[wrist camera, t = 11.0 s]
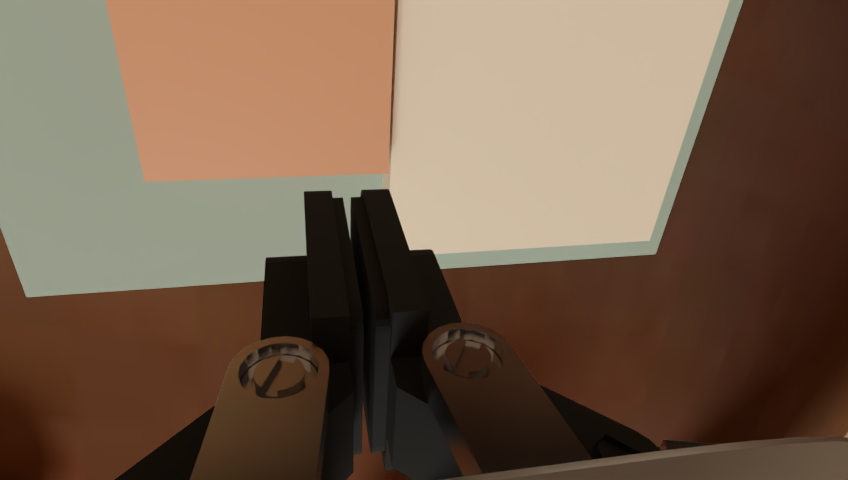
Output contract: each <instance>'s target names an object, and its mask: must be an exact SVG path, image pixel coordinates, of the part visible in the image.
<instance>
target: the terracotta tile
mask: <svg viewBox="0 0 848 480" xmlns="http://www.w3.org/2000/svg"><path fill="white" fill-rule="evenodd" d="M106 5H107V9H108V14H109V19H110V23H111V28H112V33H113V37H114V42H115V47H116V51H117V56H118V61H119V65H120V70H121V75H122V79H123V84H124V89H125V93H126V98H127V103H128V107H129V112H130V117H131V121H132V126H133V131H134V135H135V140H136V145H137V149H138V154H139V159H140V163H141V168H142V173H143V177H144V182H155V181H184V180H213V179H242V178H271V177H300V176H329V175H358V174H387V173H388V172H389V145H390V119H391V92H392V66H393V39H394V13H395V0H106Z"/></svg>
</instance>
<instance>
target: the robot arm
mask: <svg viewBox="0 0 848 480" xmlns="http://www.w3.org/2000/svg"><path fill="white" fill-rule="evenodd" d="M304 209H305V232H306V254H307V255H305V256H285V257H266V261H265V276H264V293H263V310H262V327H261V341H258V342H256V343H254V344H252V345H250V346H248V347H246V348H244V349H243V350H242V351H241V352H240V353H239V354H238V355H236V356H235V357H234V359H233V360H232V362H231V364H230V366H229V367H228V370H227V373H226V375H225V378H224V381H223V384H222V387H221V390H220V393H219V396H218V399H217V402H216V405H215V406H214V407H212V408H211V409H209V410H208V411H207V412H205V413H204V414H203V415H201V416H200V417H199V418H197V419H196V420H195V421H193V422H192V423H191V424H189V425H188V426H187V427H185V428H184V429H183V430H181V431H180V432H178V433H177V434H176V435H174V436H173V437H172V438H170V439H169V440H168V441H166V442H165V443H164V444H162V445H161V446H160V447H158V448H157V449H156V450H154V451H153V452H152V453H150V454H149V455H148V456H146V457H145V458H143V459H142V460H141V461H139V462H138V463H137V464H135V465H134V466H133V467H131V468H130V469H129V470H127V471H126V472H125V473H123V474H122V475H121V476H119V477H118V478H117V479H115V480H346V479H347V478H348V477H349V476H350V475H351V474H352V473H353V455H356V454H361V453H362V406H363V405H364V411H365V418H366V425H367V432H368V439H369V445H370V451H371V453H373V452H381V451H382V456H383V462H384V468H385V471H388V470H395V469H396V470H398V471H399V472H401V473H402V474H404V475H405V476H407V477H409V478H410V479H411V480H848V438H844V437H793V438H781V439H770V440H754V441H743V442H734V443H725V444H714V443H701V442H689V441H676V440H664V439H663V442H662V444H661V447H657V446H656V445H655V444H654V443H653V442H652V441H650V440H649V439H648V438H646V437H644V436H643V435H641V434H640V433H638V432H636V431H635V430H632V429H630V428H628V427H626V426H624V425H622V424H620V423H618V422H616V421H614V420H612V419H610V418H608V417H605V416H603V415H601V414H599V413H597V412H595V411H593V410H591V409H589V408H587V407H585V406H583V405H580V404H578V403H576V402H574V401H572V400H570V399H568V398H566V397H564V396H562V395H560V394H558V393H556V392H553V391H551V390H549V389H547V388H545V387H543V386H541V385H539V384H538V382H537V381H536V379H535V378H534V377H533V375H532V374H531V372H530V371H529V370H528V368H527V367H526V365H525V364H524V363H523V361H522V360H521V358H520V357H519V356H518V354H517V353H516V351H515V350H514V349H513V347H512V346H511V344H510V343H509V342H508V341H507V340H506V339H505V338H504V337H503V336H502V335H500V334H499V333H497V332H495V331H494V330H492V329H490V328H487V327H485V326H482V325H479V324H472V323H465V322H463V323H462V321H461V319H460V316H459V314H458V311H457V309H456V306H455V304H454V301H453V299H452V296H451V294H450V291H449V289H448V286H447V284H446V281H445V279H444V276H443V274H442V271H441V269H440V266H439V264H438V261H437V259H436V256H435V254H434V252H433V250H431V249H424V250H409V247H408V244H407V241H406V238H405V235H404V232H403V229H402V226H401V223H400V220H399V217H398V214H397V211H396V208H395V205H394V202H393V199H392V196H391V193H390V191H389V189H371V190H361V196H360V197H351V211H350V235H349V229H348V224H347V218H346V213H345V207H344V201H343V197H342V198H333V197H332V191H304Z"/></svg>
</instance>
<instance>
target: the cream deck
mask: <svg viewBox="0 0 848 480" xmlns="http://www.w3.org/2000/svg"><path fill="white" fill-rule="evenodd" d="M729 1H730V0H395V13H394V39H393V66H392V92H391V119H390V145H389V172H388V173H387V174H382V189H389V191H390V193H391V196H392V199H393V202H394V205H395V208H396V211H397V214H398V217H399V220H400V223H401V226H402V229H403V232H404V235H405V238H406V241H407V244H408V247H409V250H424V249H431V250H433V252H434V254H446V253H462V252H478V251H494V250H510V249H526V248H543V247H559V246H575V245H591V244H607V243H623V242H639V241H650V238H651V235H652V232H653V229H654V226H655V223H656V220H657V217H658V214H659V211H660V208H661V205H662V202H663V199H664V196H665V193H666V190H667V187H668V184H669V181H670V178H671V175H672V172H673V169H674V166H675V163H676V160H677V157H678V154H679V151H680V148H681V145H682V142H683V139H684V136H685V133H686V130H687V127H688V124H689V121H690V118H691V115H692V112H693V109H694V106H695V103H696V100H697V97H698V94H699V91H700V88H701V85H702V82H703V79H704V76H705V73H706V70H707V67H708V64H709V61H710V58H711V55H712V52H713V49H714V46H715V43H716V40H717V37H718V34H719V31H720V28H721V25H722V22H723V19H724V16H725V13H726V10H727V7H728V4H729Z"/></svg>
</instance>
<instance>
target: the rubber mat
mask: <svg viewBox="0 0 848 480" xmlns="http://www.w3.org/2000/svg"><path fill="white" fill-rule="evenodd" d="M742 2H743V0H730V1H729V4H728V7H727V10H726V13H725V16H724V19H723V22H722V25H721V28H720V31H719V34H718V37H717V40H716V43H715V46H714V49H713V52H712V55H711V58H710V61H709V64H708V67H707V70H706V73H705V76H704V79H703V82H702V85H701V88H700V91H699V94H698V97H697V100H696V103H695V106H694V109H693V112H692V115H691V118H690V121H689V124H688V127H687V130H686V133H685V136H684V139H683V142H682V145H681V148H680V151H679V154H678V157H677V160H676V163H675V166H674V169H673V172H672V175H671V178H670V181H669V184H668V187H667V190H666V193H665V196H664V199H663V202H662V205H661V208H660V211H659V214H658V217H657V220H656V223H655V226H654V229H653V232H652V235H651V238H650V241H639V242H623V243H607V244H591V245H575V246H559V247H543V248H526V249H510V250H494V251H478V252H462V253H446V254H435V256H436V259H437V261H438V264H439V266H440V269H446V268H461V267H475V266H490V265H504V264H519V263H534V262H548V261H563V260H577V259H592V258H607V257H621V256H636V255H651V254H656V252H657V249H658V246H659V243H660V240H661V237H662V234H663V231H664V228H665V226H666V223H667V220H668V217H669V214H670V211H671V208H672V205H673V202H674V199H675V197H676V194H677V191H678V188H679V185H680V182H681V179H682V176H683V173H684V170H685V168H686V165H687V162H688V159H689V156H690V153H691V150H692V147H693V144H694V141H695V138H696V136H697V133H698V130H699V127H700V124H701V121H702V118H703V115H704V112H705V109H706V107H707V104H708V101H709V98H710V95H711V92H712V89H713V86H714V83H715V80H716V78H717V75H718V72H719V69H720V66H721V63H722V60H723V57H724V54H725V51H726V49H727V46H728V43H729V40H730V37H731V34H732V31H733V28H734V25H735V22H736V20H737V17H738V14H739V11H740V8H741V5H742ZM371 189H382V174H358V175H329V176H300V177H271V178H242V179H213V180H184V181H155V182H144V177H143V173H142V168H141V163H140V159H139V154H138V149H137V145H136V140H135V135H134V131H133V126H132V121H131V117H130V112H129V107H128V103H127V98H126V93H125V89H124V84H123V79H122V75H121V70H120V65H119V61H118V56H117V51H116V47H115V42H114V37H113V33H112V28H111V23H110V19H109V14H108V9H107V5H106V0H0V228H1V230H2V233H3V236H4V238H5V241H6V244H7V246H8V249H9V252H10V254H11V257H12V260H13V262H14V265H15V268H16V270H17V273H18V276H19V278H20V281H21V284H22V286H23V289H24V292H25V294H26V297H37V296H51V295H66V294H80V293H95V292H110V291H124V290H139V289H154V288H168V287H183V286H197V285H212V284H227V283H241V282H256V281H264V276H265V261H266V257H285V256H305V255H307V254H306V232H305V209H304V191H332V197H333V198H342V197H343V201H344V207H345V213H346V218H347V224H348V229H349V235H350V211H351V197H360V196H361V190H371Z"/></svg>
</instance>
